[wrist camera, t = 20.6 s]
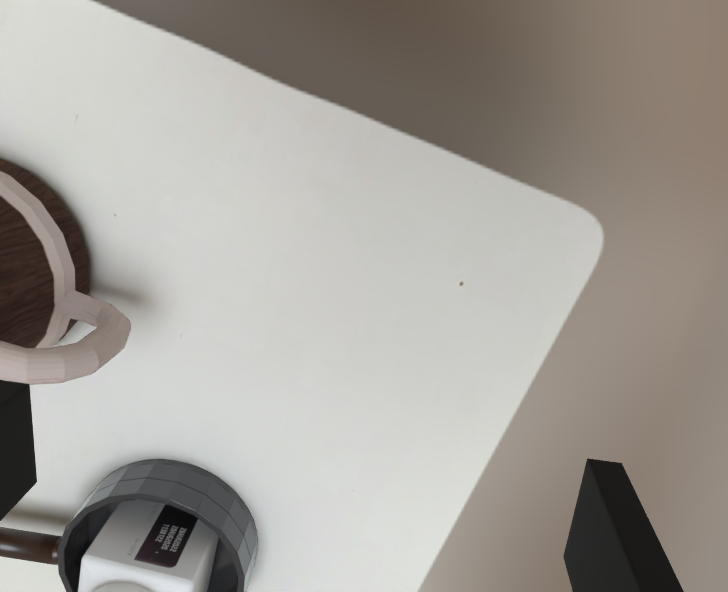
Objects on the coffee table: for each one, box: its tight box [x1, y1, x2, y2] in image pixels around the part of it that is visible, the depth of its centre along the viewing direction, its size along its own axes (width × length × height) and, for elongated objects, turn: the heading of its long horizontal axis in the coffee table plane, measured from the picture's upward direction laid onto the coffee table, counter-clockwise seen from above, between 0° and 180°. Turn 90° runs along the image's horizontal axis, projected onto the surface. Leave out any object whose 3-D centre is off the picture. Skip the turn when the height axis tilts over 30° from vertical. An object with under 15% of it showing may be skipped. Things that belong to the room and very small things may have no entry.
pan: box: [58, 460, 257, 592], centre depth 52 cm, size 14×14×4 cm
